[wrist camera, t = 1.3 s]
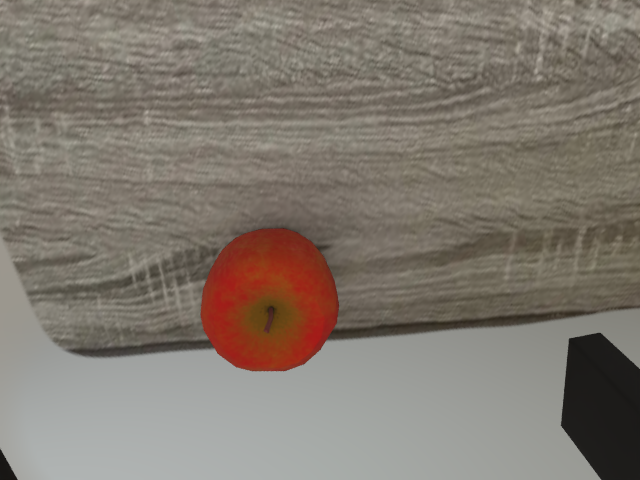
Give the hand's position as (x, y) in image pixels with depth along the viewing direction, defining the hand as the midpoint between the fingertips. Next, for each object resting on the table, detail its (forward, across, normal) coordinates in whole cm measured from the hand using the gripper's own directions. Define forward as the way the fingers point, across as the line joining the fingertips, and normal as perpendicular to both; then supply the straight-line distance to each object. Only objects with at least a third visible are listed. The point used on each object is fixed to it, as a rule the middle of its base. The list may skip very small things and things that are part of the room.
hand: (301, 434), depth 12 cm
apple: (+17, -1, -3) cm, 17 cm away
